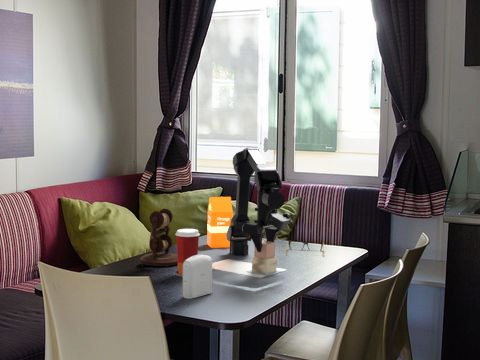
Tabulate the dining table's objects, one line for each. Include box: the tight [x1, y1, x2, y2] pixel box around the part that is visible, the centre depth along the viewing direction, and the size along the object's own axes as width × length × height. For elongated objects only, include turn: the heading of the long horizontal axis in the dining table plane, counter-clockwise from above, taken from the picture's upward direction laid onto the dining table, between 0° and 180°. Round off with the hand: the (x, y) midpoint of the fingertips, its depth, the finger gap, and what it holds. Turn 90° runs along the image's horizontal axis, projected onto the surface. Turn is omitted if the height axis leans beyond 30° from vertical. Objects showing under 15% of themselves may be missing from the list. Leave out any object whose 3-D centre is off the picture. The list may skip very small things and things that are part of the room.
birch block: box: [251, 256, 278, 274], centre depth 256 cm, size 6×6×5 cm
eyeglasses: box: [286, 240, 325, 258], centre depth 295 cm, size 14×14×4 cm
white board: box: [212, 258, 287, 279], centre depth 261 cm, size 26×16×1 cm, turn 52°
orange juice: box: [206, 196, 234, 249], centre depth 305 cm, size 8×9×20 cm
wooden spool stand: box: [139, 208, 178, 268], centre depth 267 cm, size 15×15×20 cm
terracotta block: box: [253, 240, 276, 259], centre depth 255 cm, size 5×5×5 cm
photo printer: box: [182, 254, 213, 300], centre depth 227 cm, size 10×4×12 cm, turn 140°
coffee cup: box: [174, 228, 201, 277], centre depth 254 cm, size 8×8×15 cm
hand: (264, 250), depth 255 cm, fingers open, 6 cm apart
